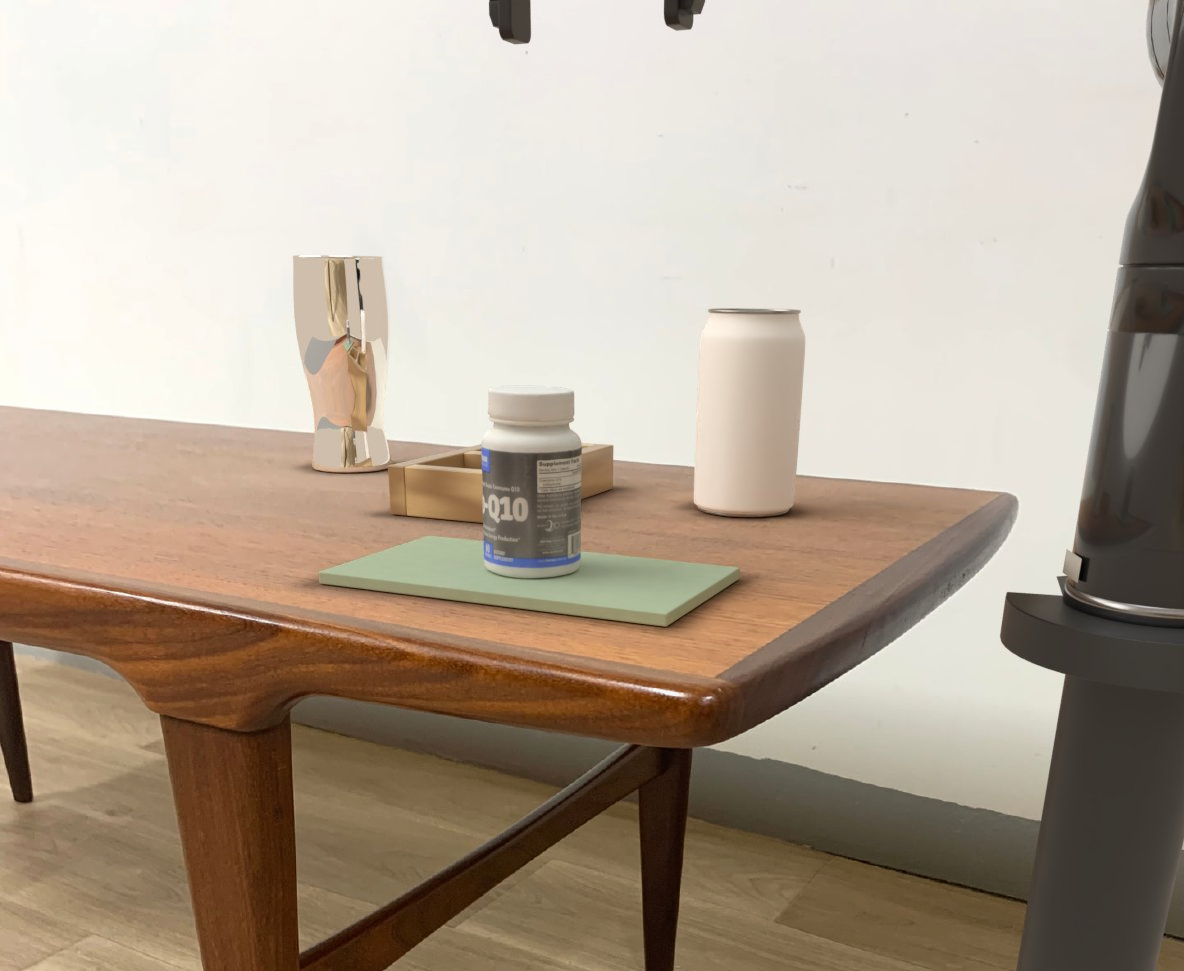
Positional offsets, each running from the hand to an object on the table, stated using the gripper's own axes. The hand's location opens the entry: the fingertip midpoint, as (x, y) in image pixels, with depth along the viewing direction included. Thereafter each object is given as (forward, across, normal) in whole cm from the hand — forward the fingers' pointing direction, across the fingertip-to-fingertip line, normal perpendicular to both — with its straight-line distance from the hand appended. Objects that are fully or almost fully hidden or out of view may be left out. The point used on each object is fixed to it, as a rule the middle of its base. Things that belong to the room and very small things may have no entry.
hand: (594, 35), depth 58 cm
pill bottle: (+24, -1, +10) cm, 26 cm away
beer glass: (+24, +29, -19) cm, 42 cm away
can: (+25, -4, -14) cm, 29 cm away
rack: (+24, +11, -11) cm, 29 cm away
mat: (+24, -1, +10) cm, 26 cm away
